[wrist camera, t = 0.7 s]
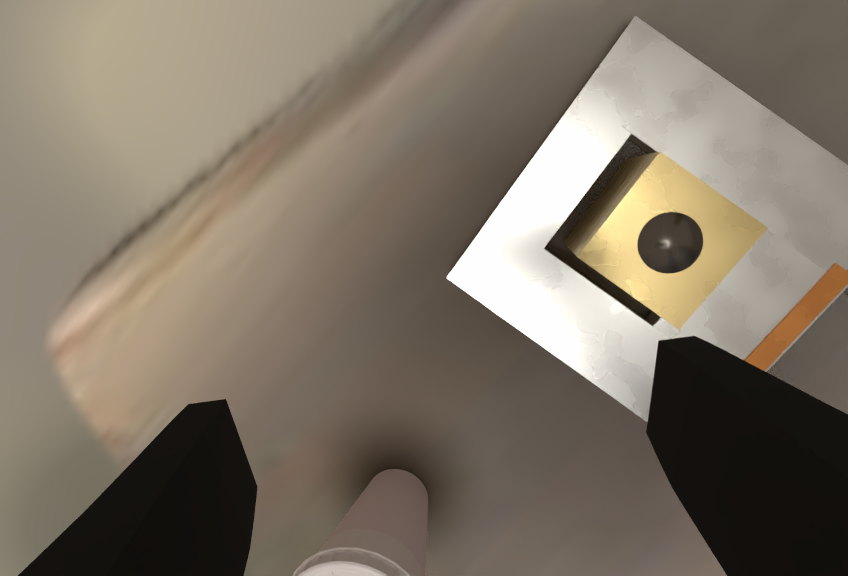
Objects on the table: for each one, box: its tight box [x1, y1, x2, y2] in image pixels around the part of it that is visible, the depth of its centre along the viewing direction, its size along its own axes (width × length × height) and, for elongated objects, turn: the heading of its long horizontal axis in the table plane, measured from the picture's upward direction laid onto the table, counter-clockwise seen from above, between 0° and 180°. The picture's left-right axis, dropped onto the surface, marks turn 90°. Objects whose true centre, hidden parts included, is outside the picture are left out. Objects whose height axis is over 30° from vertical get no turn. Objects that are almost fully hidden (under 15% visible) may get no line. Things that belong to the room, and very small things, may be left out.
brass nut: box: [563, 152, 768, 330], centre depth 24 cm, size 5×5×6 cm
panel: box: [447, 16, 848, 422], centre depth 26 cm, size 24×14×2 cm, turn 56°
